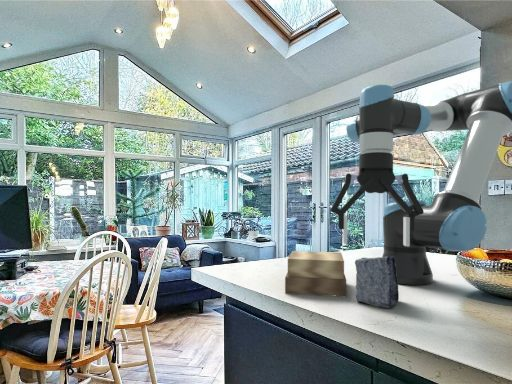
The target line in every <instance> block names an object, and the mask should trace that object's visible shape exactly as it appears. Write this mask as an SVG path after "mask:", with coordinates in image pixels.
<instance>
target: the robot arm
mask: <svg viewBox="0 0 512 384" xmlns="http://www.w3.org/2000/svg"><path fill="white" fill-rule="evenodd" d="M394 92H395V91H394V89H393V87H392V86H391V85H387V84H374V85H370V86H367V87H364V88H363V89H362V90H361V92H360V94H359V95H360V97H359V104H358V105H359V106H358V109H359V114H358V115H356V116H354V117H352V118H349V120H348V121H347V122H346V123H347V124H346V128H345V129H346V135H347V136H348V138H349V140H350V141H351V142H354V143H358V145H359V149H358V151H359V152H360V153H361V154H360V155H359V156H358V174H351V173H349V172H348V173H347V174H345V176H344V177H345V178H344V183H343V185H342V187H341V189H340V191H339V193H338V195H337V196H336V199H335V201H334V203H333V205H332V206H331V207H330V211H331V212H332V213H333V214H336V215H337V216H338V221H337V222H338V223H337V224H338V228H339V229H338V230H342V243H343V245H348V215H345V214H346V213H347V212H348V210H350V208H351V207H352V206H353V205H354V204H355V203H356V202H357V201H358V200H359V199H360V197H361V196H362V195H363V194H364V193H365V192H366V193H368V194H373V193H374V194H384V193H387V195H388V196H389V197H390V198H391V199H392V200H393V201H394V202H391V203H387V204H386V205H385V206H384V209H383V215H382V216H383V217H382V219H383V222H382V225H383V227H382V228H383V229H382V230H383V232H382V233H383V253H382V257H391V256H393V257H394V259H395V263H396V272H397V281H398V285H410V286H411V285H414V286H421V285H430V284H433V283H434V279H433V277H434V276H433V275H434V274H433V270H432V268H431V266H430V262H429V259H428V256H427V248H431V249H436V250H437V249H438V250H444V251H449V252H461V253H462V252H463V253H464V252H469V251H471V250H474V249H475V248H477V247H478V246H479V245H480V244H481V243H482V241H483V240H484V238H485V236H486V232H487V226H486V224H487V216H486V215H485V213H484V211H483V208H482V207H483V206H481V204H480V203H479V200H480V197H481V194H482V192H483V189H484V186H485V184H486V181H487V179H488V176H489V172H491V171H490V170H491V168H492V165H493V163H494V160H495V157H496V155H497V152H498V149H499V147H500V144H501V143H502V142H501V141H502V139H503V137H504V136H507V135H509V133H511V132H512V80H511V81H505V82H499V83H498V84H496V85H495V84H494V85H491V86H487V87H483V88H480V89H476V90H473V91H469V92H465V93H462V94H458V95H456V96H453V97H451V98H448V99H445V100H440V101H439V100H438V101H434V102H433V103H432V104H430V105H422V104H419V103H418V102H411V101H406V100H400V99H397V98H395V94H394ZM427 131H433V132H438V133H439V132H440V133H441V132H448V131H450V132H451V131H467V134H466V136H465V139H464V140H463V142H462V146H461V148H460V150H459V152H458V155H457V157H456V159H455V162H454V164H453V165H454V166H453V167H452V169H451V172H450V174H449V177H448V179H447V182H446V183H445V186H444V189H443V191H441V192H437V193H436V194H435V195H434V197H433V200H432V202H431V204H430V205H427V203H426V201H425V200H418V198H417V196H416V194H415V192H414V190H413V188H412V187H411V185H410V181H409V175H408V174H407V173H402V174H397V175H396V174H395V173H394V155H393V154H392V152H393V151H394V137H396V136H403V135H410V136H411V135H421V134H423V133H425V132H427ZM355 181H357V182H358V184H359V185H360V187H359V188H358V189H357V190H356V192H355V193H354V194H353V195H352V196H351V197H350V198H349V199H348V200H347V202H346V203H345V204H344V205H343V206H342V207H341V208H339V207H340V206H341V205H340V204H341V203H342V201H343V199H344V197H345V196H346V193H347V191H348V189H349V187H350V186H351V185H352V184H354V182H355ZM395 181H397V183H398V184H399V185H401V188H402V190H403V192H404V194H405V197H406V198H407V199H408V200H404V199H403V198H402V197H401V196H400V194H398V192H397V191H396V190H395V188H393V187H392V185H393V183H394V182H395Z"/></svg>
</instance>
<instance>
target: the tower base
mask: <svg viewBox="0 0 512 384" xmlns="http://www.w3.org/2000/svg"><path fill="white" fill-rule="evenodd" d="M284 277H285V278H284V280H285V281H284V283H285V284H284V288H285V289H284V291H285V293H284V294H291V295H307V296H309V295H310V296H312V295H313V296H324V295H336V296H335V297H342V296H346V297H347V278H346V274H345V273H344V279H330V278H309V277H289V276H288V271H287V273H286V275H285V276H284Z"/></svg>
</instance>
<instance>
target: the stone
mask: <svg viewBox="0 0 512 384" xmlns="http://www.w3.org/2000/svg"><path fill="white" fill-rule="evenodd" d="M354 265H355V268H356V274H355V278H356V281H355V289H356V293H355V294H356V295H355V298H356V302H362V303H365V304H368V305H370V306H373V307H378V308H385V309H390V308H392V307H394V306H396V305H397V303H398V302H399V299H400V298H399V297H400V295H399V294H400V293H399V284H398V281H397V272H396V263H395V259H394V257H393V256H391V257H380V256H379V257H361V258H358V259H355V262H354Z"/></svg>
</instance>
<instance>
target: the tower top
mask: <svg viewBox="0 0 512 384" xmlns="http://www.w3.org/2000/svg"><path fill="white" fill-rule="evenodd" d="M287 272H288V276H289V277H309V278H330V279H344V274H345V260H344V257H343V254H342V252H334V251H310V250H309V251H308V250H305V251H304V250H303V251H301V250H292V251H291V253H290V254H289V256H288V257H287Z"/></svg>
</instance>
